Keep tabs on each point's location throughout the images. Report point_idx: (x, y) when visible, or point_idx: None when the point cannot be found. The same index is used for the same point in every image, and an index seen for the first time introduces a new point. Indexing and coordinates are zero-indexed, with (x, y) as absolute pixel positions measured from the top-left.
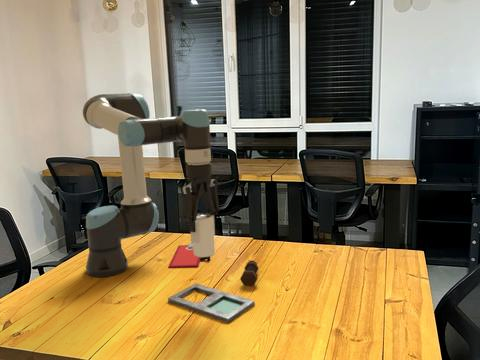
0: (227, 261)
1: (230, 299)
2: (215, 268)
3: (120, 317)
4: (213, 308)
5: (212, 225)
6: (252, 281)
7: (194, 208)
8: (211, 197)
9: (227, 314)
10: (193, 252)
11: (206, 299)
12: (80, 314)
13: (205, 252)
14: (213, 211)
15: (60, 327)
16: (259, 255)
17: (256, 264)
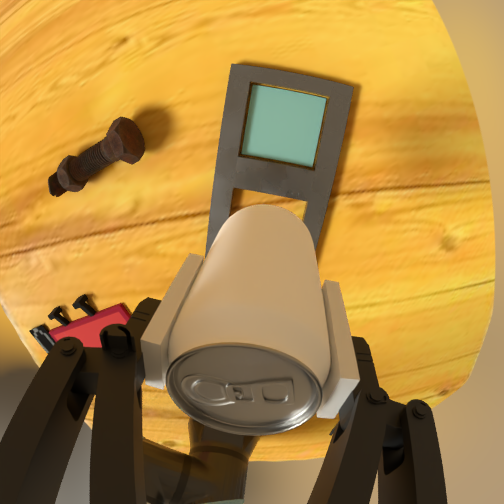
0: (64, 258)
1: (242, 132)
2: (103, 265)
3: (391, 320)
4: (301, 153)
5: (235, 281)
6: (131, 126)
7: (373, 480)
8: (56, 464)
9: (333, 97)
10: (83, 338)
11: (277, 189)
12: (390, 374)
13: (305, 231)
14: (124, 364)
15: (428, 369)
16: (13, 208)
17: (59, 165)
